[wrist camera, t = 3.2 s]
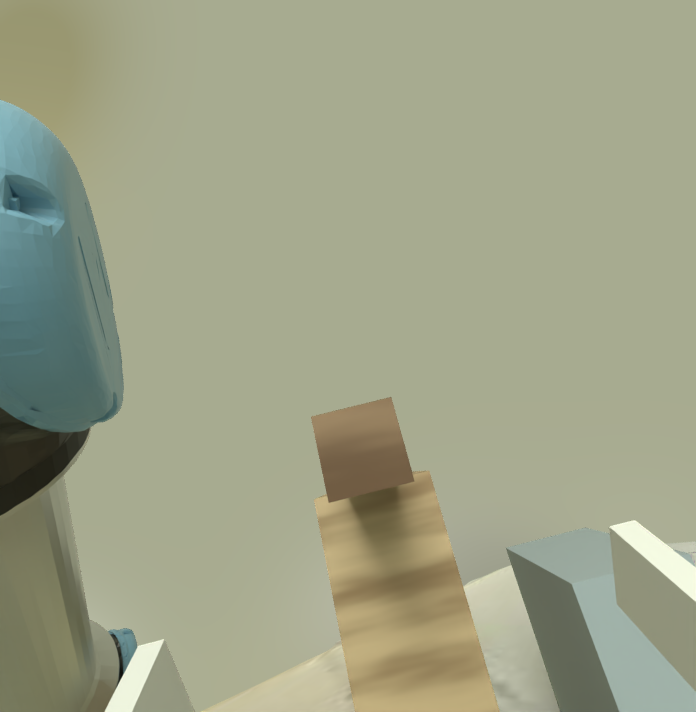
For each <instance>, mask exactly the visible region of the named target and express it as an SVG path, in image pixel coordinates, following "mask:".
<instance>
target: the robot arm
mask: <svg viewBox="0 0 696 712" xmlns="http://www.w3.org/2000/svg"><path fill="white" fill-rule="evenodd" d="M123 390H124V386H123V374H122V359H121V352H120V344H119V337H118V333H117V328H116V322H115V316H114V313H113V302H112V296H111V290H110V285H109V280H108V275H107V271H106V267H105V261H104V257H103V253H102V249H101V245H100V240H99V237H98V233H97V229H96V225H95V222H94V218H93V214H92V210H91V207H90V204H89V201H88V198H87V195H86V192H85V188H84V186H83V183H82V180H81V177H80V175H79V172H78V170H77V168H76V166H75V164H74V162H73V160H72V158H71V156H70V154H69V153H68V151H67V150H66V148H65V147H64V145H63V144H62V143H61V141H60V140H59V139H58V138H57V137H56V136H55V135H54V134H53V133H52V131H50V130H49V129H48V128H47V127H46V126H45V125H44V124H42V123H41V122H40V121H39V120H38V119H36V118H35V117H33V116H32V115H30V114H29V113H28V112H26V111H24V110H23V109H21V108H19V107H17V106H15V105H13V104H10V103H8V102H5V101H2V100H0V712H195V710H194V708H193V706H192V704H191V701H190V699H189V696H188V694H187V691H186V689H185V687H184V685H183V682H182V680H181V677H180V675H179V673H178V670H177V668H176V665H175V663H174V661H173V658H172V656H171V654H170V651H169V649H168V647H167V644H166V642H165V640H164V639H163V640H159V641H156V642H152V643H148V644H144V645H140V646H138V647H137V642H136V639H135V635H134V633H133V631H132V630H130V629H127V628H124V629H120V630H114V629H113V630H110V631H107V630H105V629H104V628H103V627H102V626H101V625H99V624H98V623H96V622H94V621H92V620H89V616H88V610H87V605H86V599H85V593H84V588H83V582H82V577H81V571H80V565H79V560H78V554H77V548H76V543H75V537H74V531H73V527H72V520H71V515H70V509H69V503H68V497H67V492H66V486H65V480H64V474H65V473H66V472H67V471H68V470H69V469H70V467H71V466H72V465H73V464H74V463H75V462H76V460H77V458H78V457H79V455H80V454H81V453H82V451H83V450H84V447H85V445H86V443H87V441H88V439H89V435H90V431H91V427H92V426H93V425H95V424H96V423H98V422H105V421H107V420H109V419H111V418H112V417H114V415H116V414H117V413H118V411H119V410H120V408H121V406H122V401H123ZM609 532H610V541H611V551H612V561H613V571H614V581H615V591H616V600H617V605H618V606H619V607H620V608H621V609H622V611H623V612H624V613H625V614H626V615H627V616H628V617H629V618H630V619H631V621H632V622H633V623H634V624H635V625H636V626H637V627H638V628H639V629H640V630H641V632H642V633H643V634H644V635H645V636H646V637H647V638H648V639H649V640H650V642H651V643H652V644H653V645H654V646H655V647H656V648H657V649H658V650H659V652H660V653H661V654H662V655H663V656H664V657H665V658H666V659H667V660H668V662H669V663H670V664H671V665H672V666H673V667H674V668H675V669H676V670H677V672H678V673H679V674H680V675H681V676H682V677H683V678H684V679H685V680H686V682H687V683H688V684H689V685H690V686H691V687H692V688H693V689H694V690H695V692H696V567H694V566H693V565H692V564H691V563H689V562H688V561H687V560H685V559H684V558H683V557H682V556H680V555H679V554H678V553H676V552H675V551H674V550H673V549H671V548H670V547H669V546H667V545H666V544H665V543H663V542H662V541H661V540H659V539H658V538H657V537H656V536H654V535H653V534H652V533H651V532H649V531H648V530H647V529H645V528H644V527H643V526H642V525H640V524H639V523H637V522H636V521H635V520H633V521H629V522H625V523H621V524H617V525H613V526H610V527H609Z"/></svg>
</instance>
